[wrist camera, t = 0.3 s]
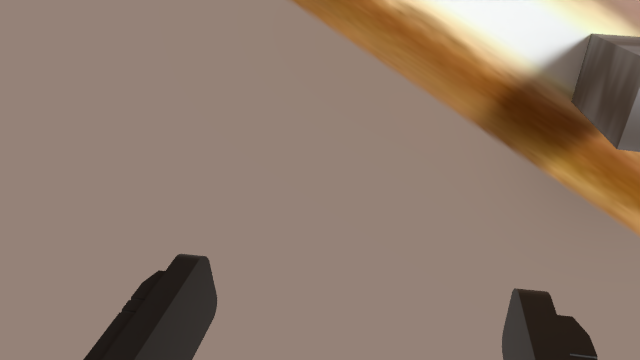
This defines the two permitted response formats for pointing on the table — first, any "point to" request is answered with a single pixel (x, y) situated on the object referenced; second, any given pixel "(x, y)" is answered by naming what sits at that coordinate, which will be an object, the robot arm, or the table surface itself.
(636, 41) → the slate pillar
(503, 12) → the table surface
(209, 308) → the robot arm
